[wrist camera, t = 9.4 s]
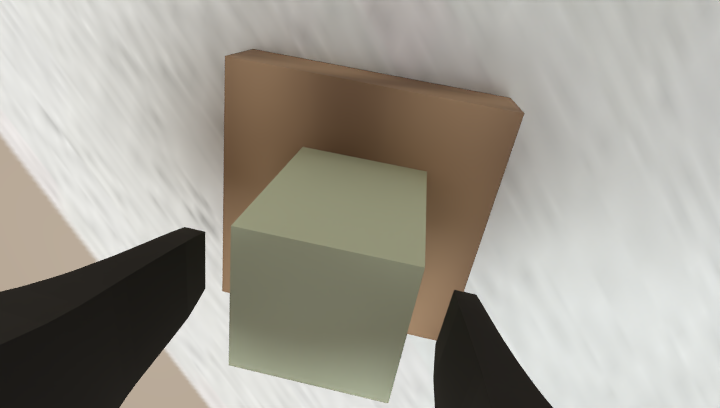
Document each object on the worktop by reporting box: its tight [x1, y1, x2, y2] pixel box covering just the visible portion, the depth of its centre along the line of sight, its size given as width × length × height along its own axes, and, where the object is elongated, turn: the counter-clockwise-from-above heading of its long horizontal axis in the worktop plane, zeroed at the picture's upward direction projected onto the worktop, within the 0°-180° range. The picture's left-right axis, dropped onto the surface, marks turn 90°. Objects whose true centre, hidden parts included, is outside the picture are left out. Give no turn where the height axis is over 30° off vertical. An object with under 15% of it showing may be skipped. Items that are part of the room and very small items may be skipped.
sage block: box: [229, 147, 427, 403], centre depth 13 cm, size 4×4×6 cm
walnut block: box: [222, 49, 524, 341], centre depth 17 cm, size 10×10×3 cm
